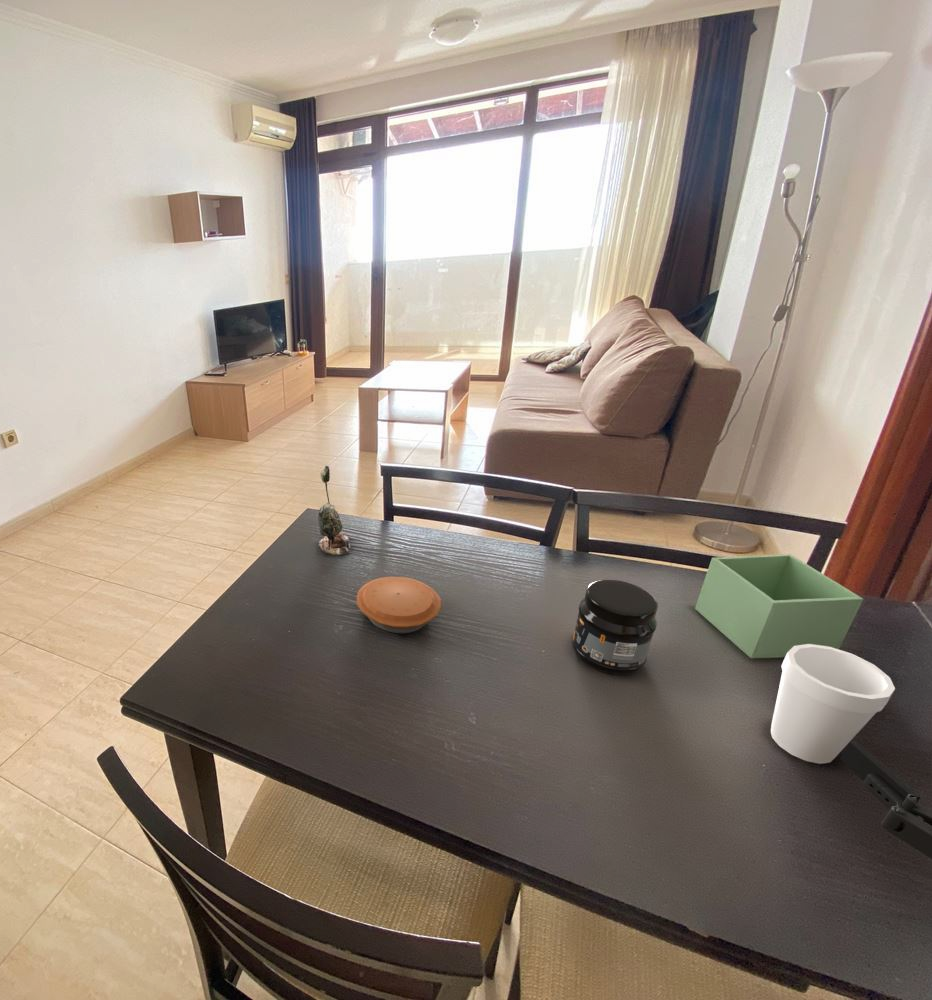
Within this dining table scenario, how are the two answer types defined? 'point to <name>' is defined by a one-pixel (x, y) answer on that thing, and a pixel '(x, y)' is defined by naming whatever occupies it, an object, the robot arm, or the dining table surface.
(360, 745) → the dining table surface
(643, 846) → the dining table surface
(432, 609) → the pie
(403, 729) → the dining table surface
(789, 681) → the foam cup
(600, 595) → the supplement container
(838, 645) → the open green box
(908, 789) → the robot arm
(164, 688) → the dining table surface
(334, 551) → the plant with pod
